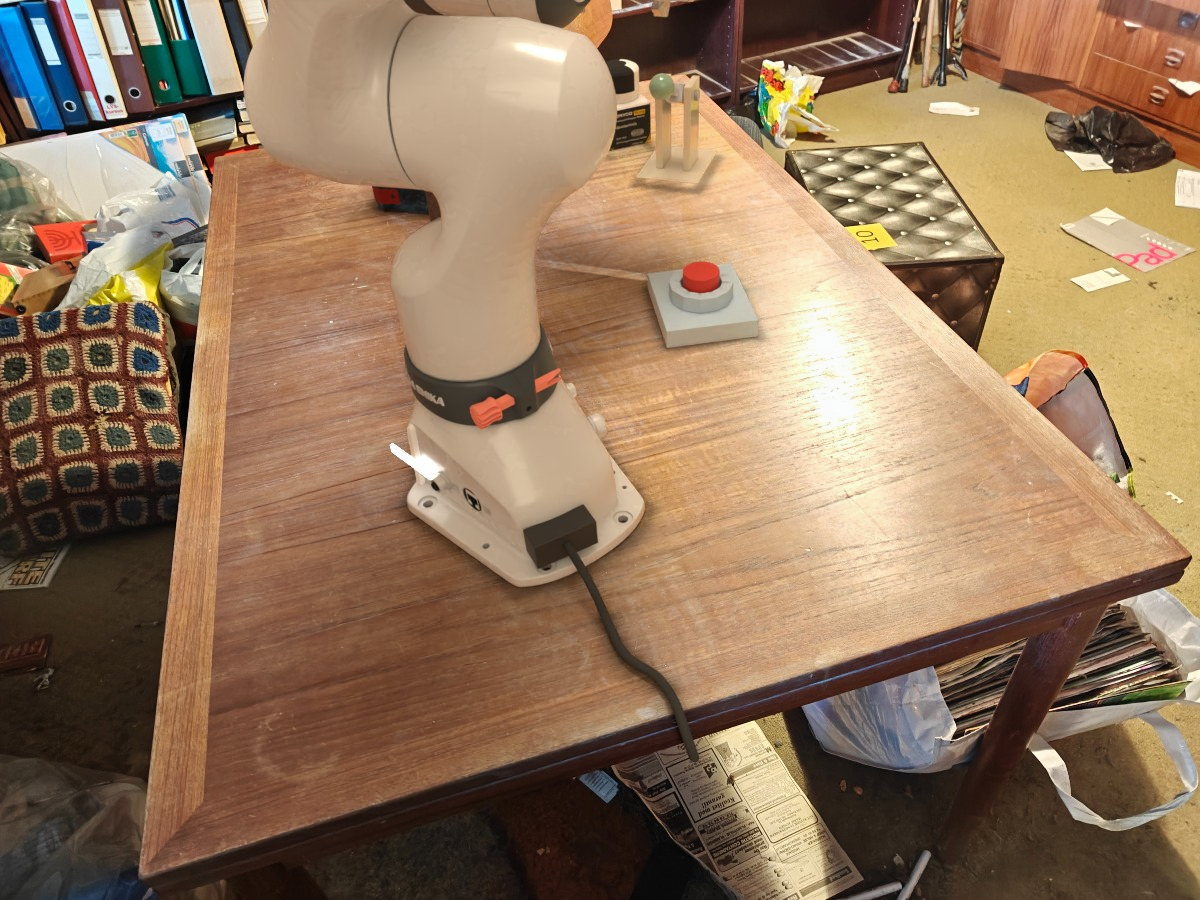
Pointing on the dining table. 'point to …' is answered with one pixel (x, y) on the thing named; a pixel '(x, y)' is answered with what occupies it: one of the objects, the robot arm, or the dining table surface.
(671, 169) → the ball knob lever stand
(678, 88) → the green knob lever
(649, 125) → the medicine bottle
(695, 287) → the button
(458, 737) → the dining table surface
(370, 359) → the dining table surface
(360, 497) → the dining table surface
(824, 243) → the dining table surface
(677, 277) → the control block
